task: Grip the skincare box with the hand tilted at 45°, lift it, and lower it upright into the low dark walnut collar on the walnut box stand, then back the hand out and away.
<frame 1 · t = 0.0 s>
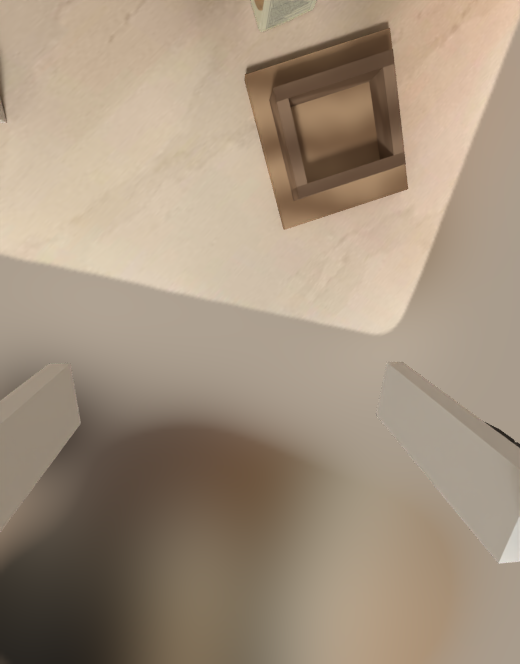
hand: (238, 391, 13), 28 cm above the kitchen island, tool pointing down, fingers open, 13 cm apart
walnut box stand: (329, 139, 35), on the kitchen island
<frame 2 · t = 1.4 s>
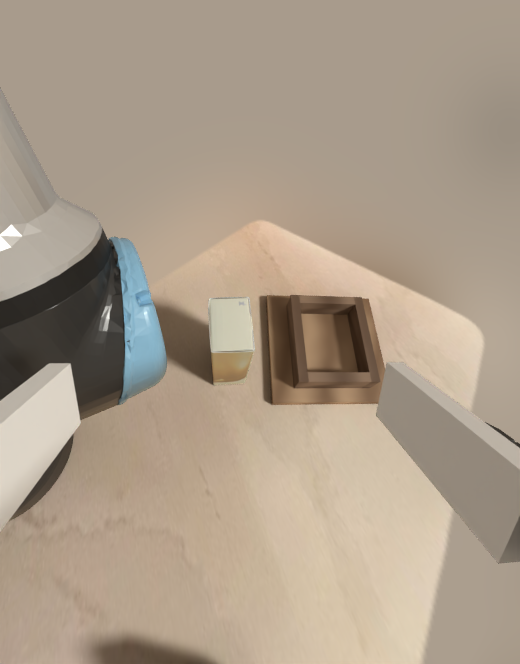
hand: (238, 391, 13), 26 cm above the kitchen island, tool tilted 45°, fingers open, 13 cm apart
skincare box: (228, 364, 40), on the kitchen island
walnut box stand: (323, 348, 43), on the kitchen island
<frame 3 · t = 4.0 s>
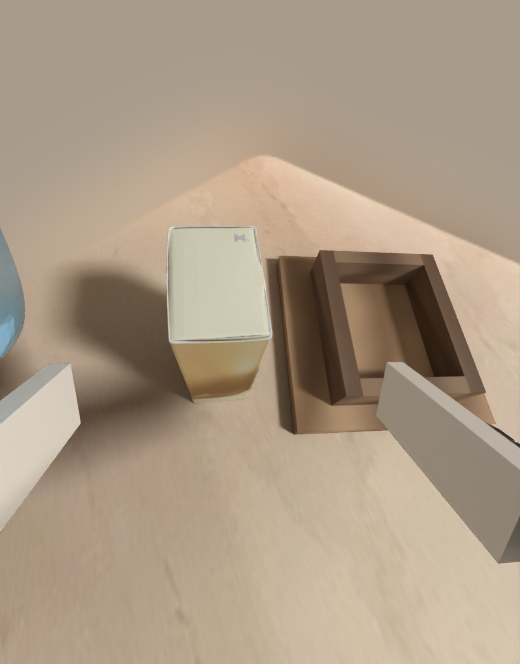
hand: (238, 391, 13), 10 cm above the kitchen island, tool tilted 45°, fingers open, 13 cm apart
skincare box: (218, 366, 24), on the kitchen island
walnut box stand: (371, 337, 27), on the kitchen island
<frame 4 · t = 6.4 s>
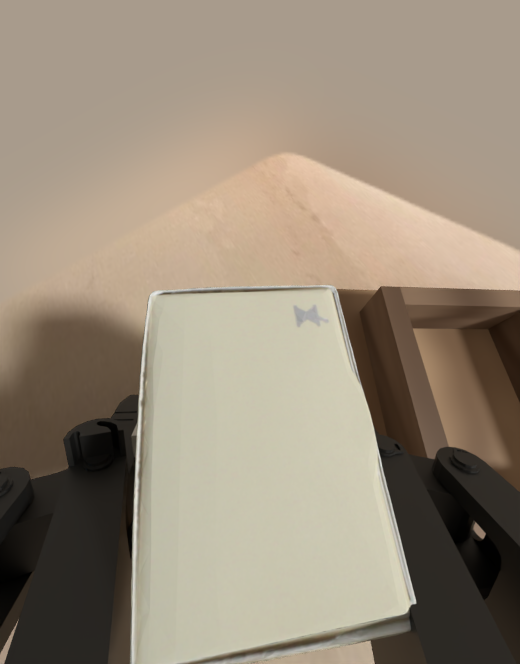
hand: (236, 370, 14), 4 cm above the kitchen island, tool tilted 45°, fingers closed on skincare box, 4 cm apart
skincare box: (234, 458, 16), on the kitchen island, touching gripper
walnut box stand: (447, 406, 19), on the kitchen island
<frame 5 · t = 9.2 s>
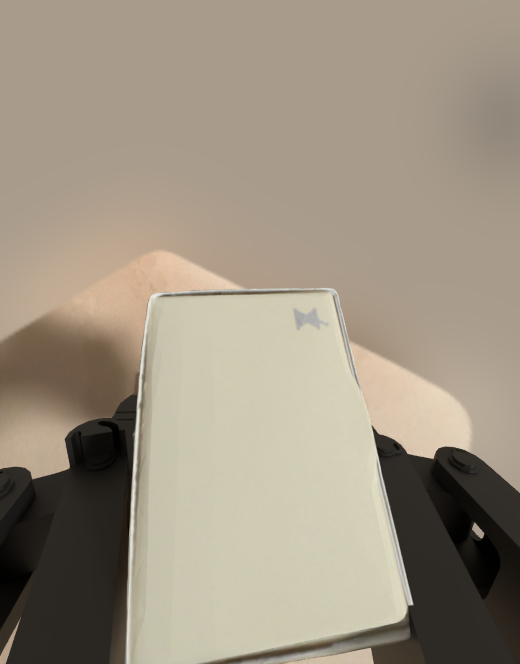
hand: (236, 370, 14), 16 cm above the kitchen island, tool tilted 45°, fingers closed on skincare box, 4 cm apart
skincare box: (234, 459, 16), point 12 cm above the kitchen island, touching gripper
when the fingers open (6 cm above the kitchen island, at t = 11.9 s): skincare box stays where it is, resting on walnut box stand.
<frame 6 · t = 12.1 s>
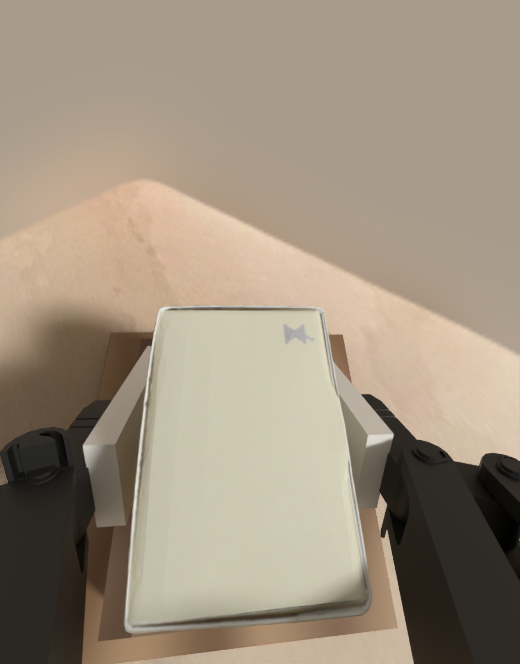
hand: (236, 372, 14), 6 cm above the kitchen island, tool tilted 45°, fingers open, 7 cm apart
skincare box: (233, 461, 17), point 1 cm above the kitchen island, touching walnut box stand
walnut box stand: (232, 459, 18), on the kitchen island
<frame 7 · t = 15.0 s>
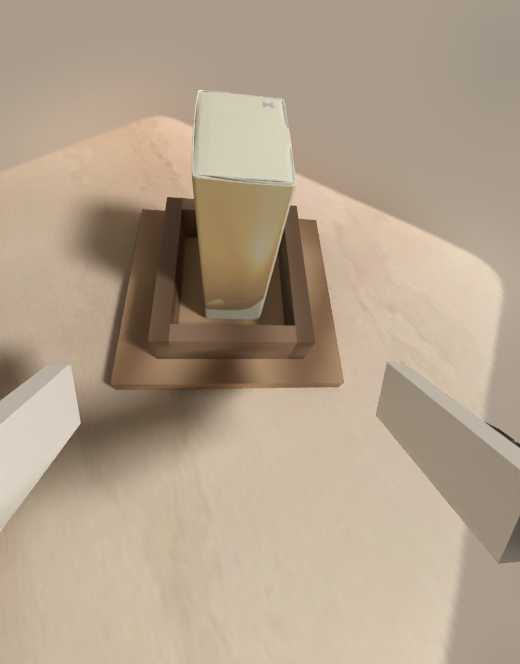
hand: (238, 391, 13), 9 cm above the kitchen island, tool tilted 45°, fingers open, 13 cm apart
skincare box: (232, 289, 24), point 1 cm above the kitchen island, touching walnut box stand
walnut box stand: (232, 295, 25), on the kitchen island
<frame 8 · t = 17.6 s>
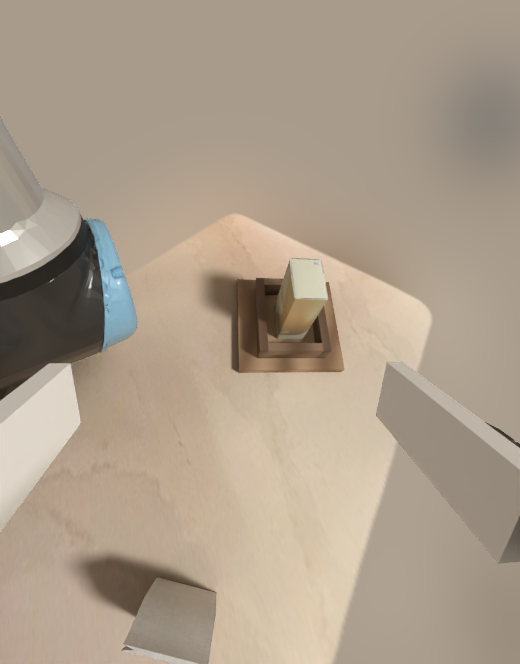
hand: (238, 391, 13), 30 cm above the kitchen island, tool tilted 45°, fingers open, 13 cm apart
grey rectangular block: (181, 605, 32), on the kitchen island
skincare box: (288, 323, 47), point 1 cm above the kitchen island, touching walnut box stand
walnut box stand: (286, 325, 48), on the kitchen island
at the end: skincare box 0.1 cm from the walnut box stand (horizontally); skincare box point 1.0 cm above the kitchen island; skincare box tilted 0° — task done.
